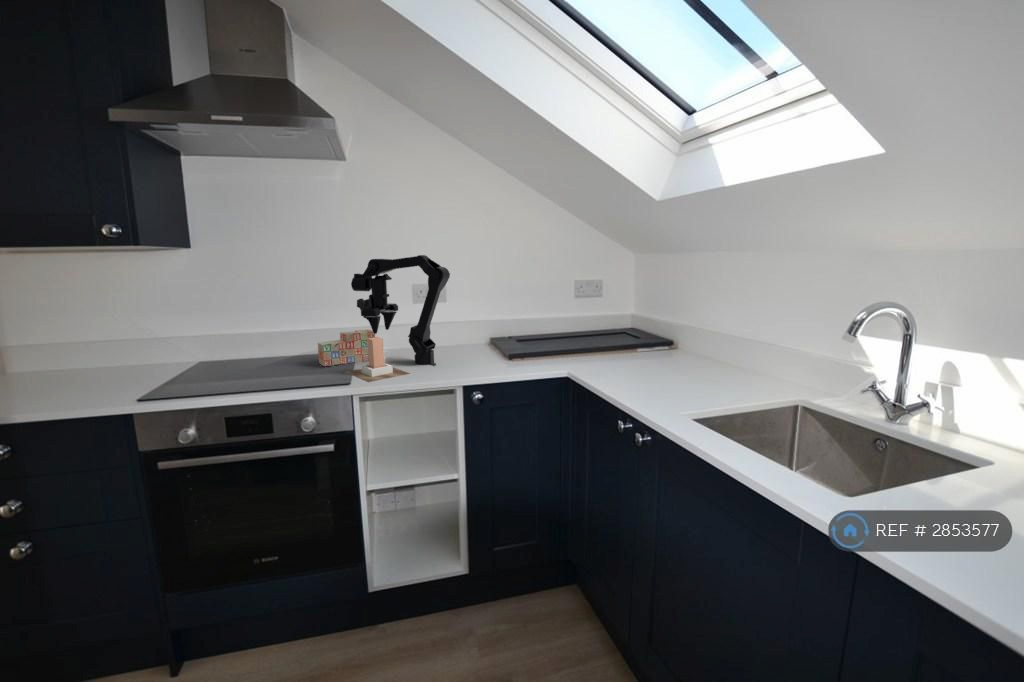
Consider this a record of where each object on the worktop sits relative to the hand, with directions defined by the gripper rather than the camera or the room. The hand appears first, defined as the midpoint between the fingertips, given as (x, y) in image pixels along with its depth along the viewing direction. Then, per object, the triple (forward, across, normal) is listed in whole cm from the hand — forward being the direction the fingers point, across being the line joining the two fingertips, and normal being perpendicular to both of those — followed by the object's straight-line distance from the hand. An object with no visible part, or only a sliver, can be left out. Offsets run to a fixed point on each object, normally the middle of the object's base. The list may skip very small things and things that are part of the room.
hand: (381, 331), depth 185 cm
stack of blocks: (+14, 0, -16) cm, 21 cm away
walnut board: (+13, +17, +7) cm, 22 cm away
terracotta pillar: (+12, +17, +7) cm, 22 cm away
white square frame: (+12, +17, +7) cm, 22 cm away
